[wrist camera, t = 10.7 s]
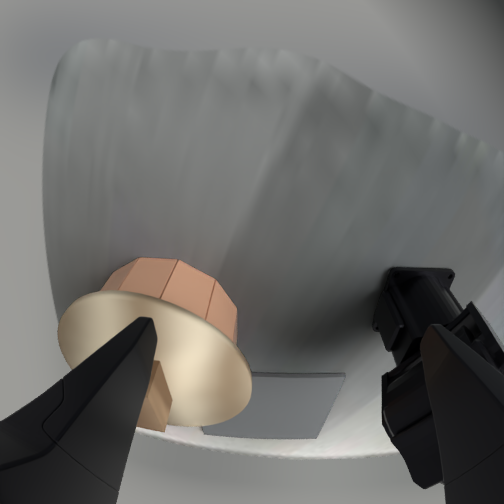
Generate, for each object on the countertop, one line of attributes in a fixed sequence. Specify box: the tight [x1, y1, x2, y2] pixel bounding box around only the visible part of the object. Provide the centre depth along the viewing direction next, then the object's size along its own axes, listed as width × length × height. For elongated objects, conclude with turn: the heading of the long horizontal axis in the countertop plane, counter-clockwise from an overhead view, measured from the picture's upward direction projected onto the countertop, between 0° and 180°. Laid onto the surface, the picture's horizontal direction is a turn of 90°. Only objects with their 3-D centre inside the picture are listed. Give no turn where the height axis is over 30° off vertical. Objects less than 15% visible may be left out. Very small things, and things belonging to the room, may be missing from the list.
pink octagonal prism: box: [100, 257, 237, 345], centre depth 22 cm, size 12×12×6 cm
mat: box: [202, 373, 346, 439], centre depth 32 cm, size 16×16×1 cm
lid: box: [58, 290, 252, 432], centre depth 18 cm, size 15×15×4 cm
